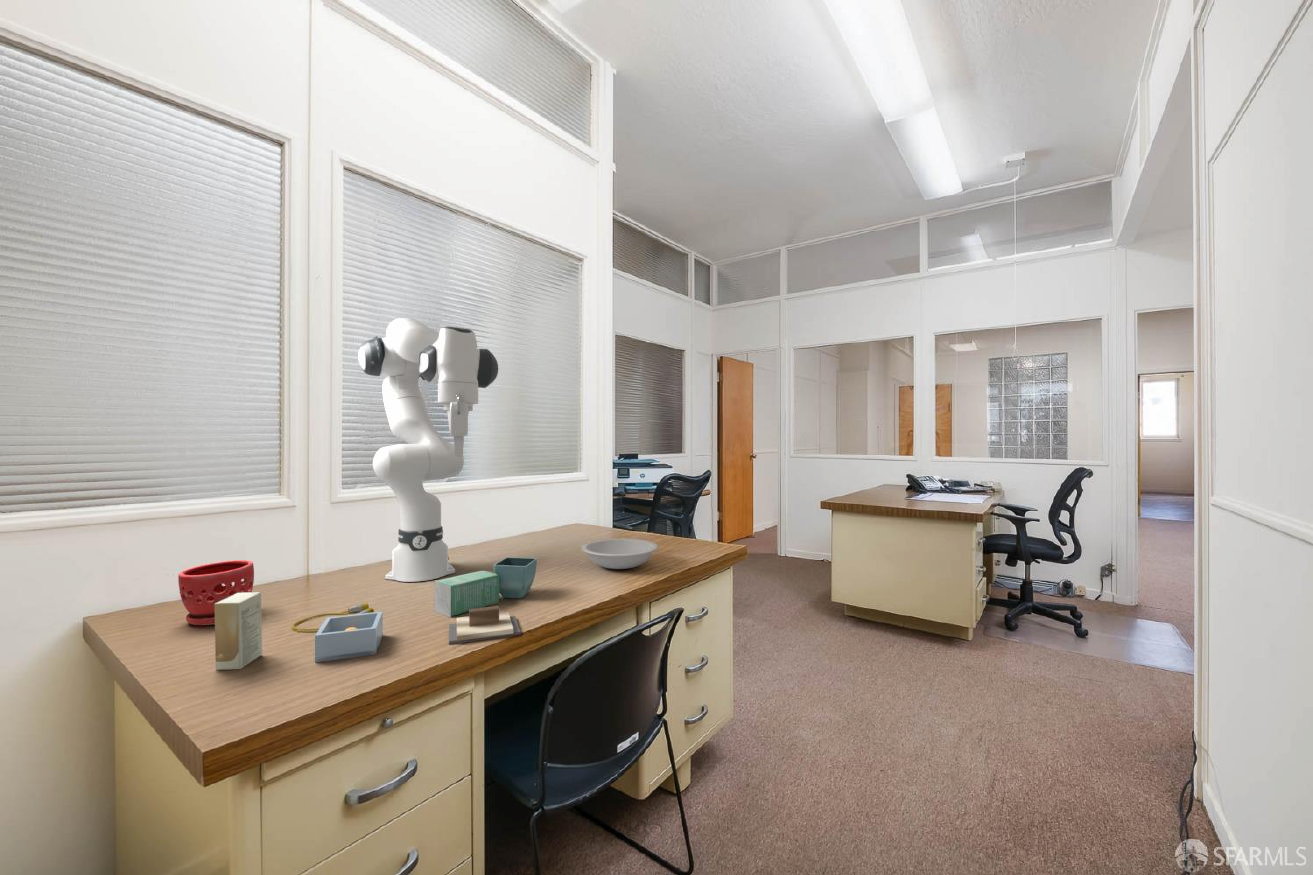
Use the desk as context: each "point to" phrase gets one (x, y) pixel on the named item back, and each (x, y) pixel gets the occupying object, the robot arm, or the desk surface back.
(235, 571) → the plant pot
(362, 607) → the extension cord
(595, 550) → the soup bowl
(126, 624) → the desk surface
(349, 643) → the blue storage bin
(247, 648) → the skincare box
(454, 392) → the robot arm
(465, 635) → the birch lid
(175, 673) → the desk surface
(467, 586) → the box
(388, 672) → the desk surface
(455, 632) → the rubber mat
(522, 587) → the flower pot
